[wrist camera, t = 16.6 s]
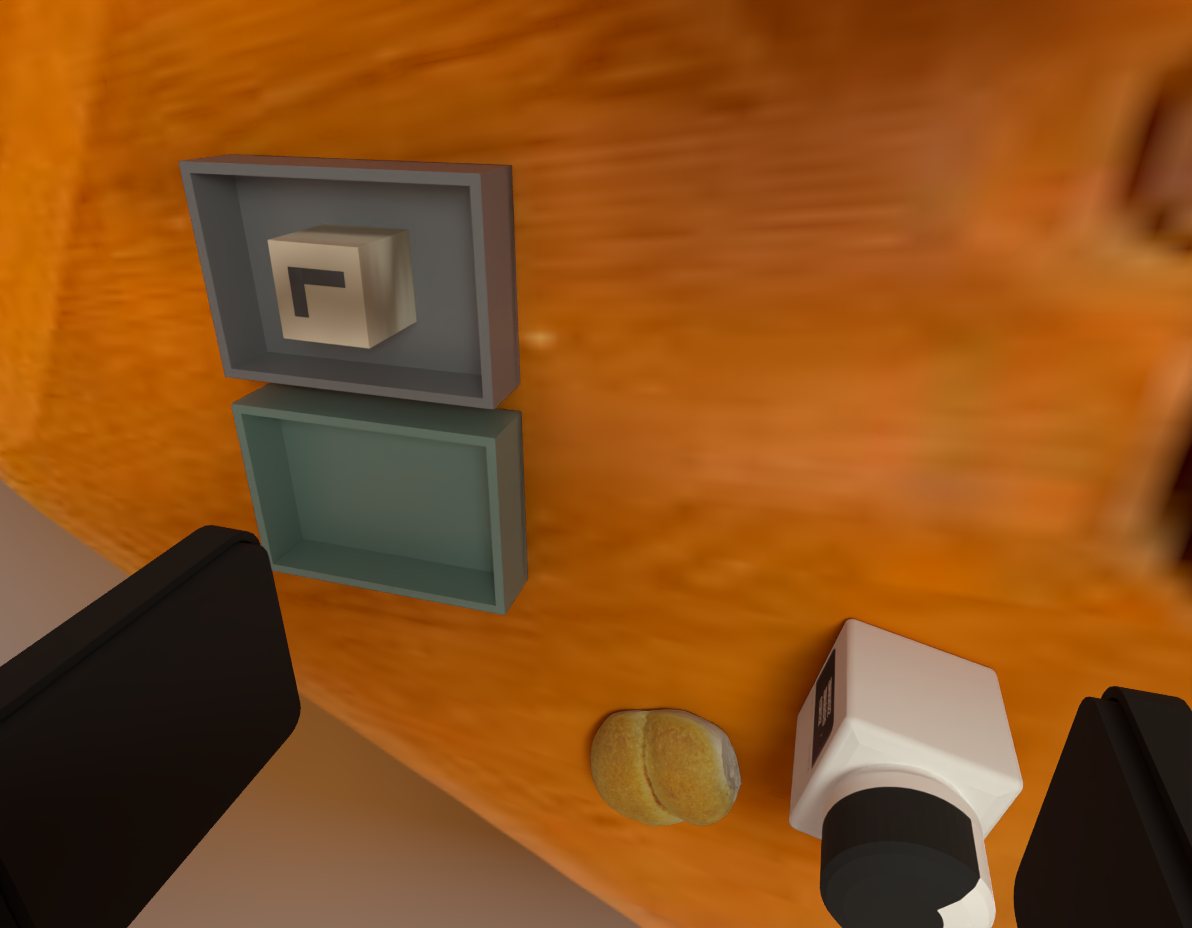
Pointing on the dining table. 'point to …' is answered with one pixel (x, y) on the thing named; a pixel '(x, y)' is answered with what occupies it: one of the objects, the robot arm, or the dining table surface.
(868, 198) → the dining table surface
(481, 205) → the charcoal bin
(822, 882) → the container
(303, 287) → the letter cube
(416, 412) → the green-grey bin
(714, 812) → the bread roll
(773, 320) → the dining table surface
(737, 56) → the dining table surface
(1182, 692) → the dining table surface
